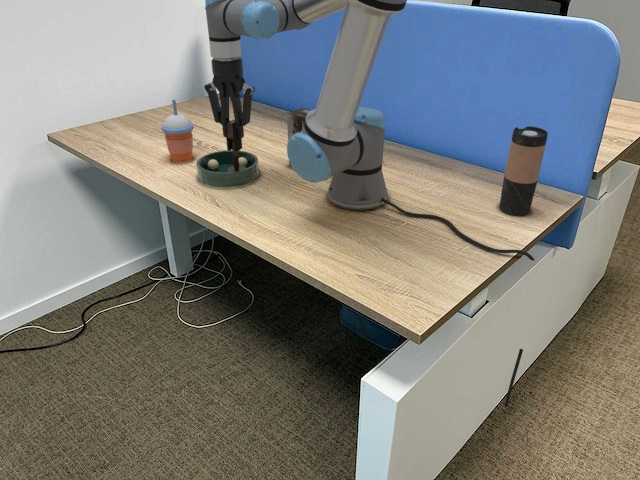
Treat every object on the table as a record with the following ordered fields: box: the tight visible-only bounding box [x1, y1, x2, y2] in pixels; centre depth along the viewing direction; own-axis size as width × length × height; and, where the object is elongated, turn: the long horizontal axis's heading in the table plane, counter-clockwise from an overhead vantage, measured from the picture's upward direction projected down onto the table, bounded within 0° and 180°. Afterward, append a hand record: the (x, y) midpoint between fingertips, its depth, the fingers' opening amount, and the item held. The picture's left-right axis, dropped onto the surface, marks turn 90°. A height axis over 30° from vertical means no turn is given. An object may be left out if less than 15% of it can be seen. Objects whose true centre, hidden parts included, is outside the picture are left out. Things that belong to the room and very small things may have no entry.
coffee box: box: [286, 107, 312, 166], centre depth 148 cm, size 9×6×16 cm
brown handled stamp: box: [227, 119, 246, 172], centre depth 140 cm, size 5×5×16 cm
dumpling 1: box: [208, 159, 218, 170], centre depth 148 cm, size 3×3×3 cm
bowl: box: [196, 149, 260, 188], centre depth 145 cm, size 17×17×4 cm
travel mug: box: [499, 125, 549, 217], centre depth 124 cm, size 8×8×20 cm
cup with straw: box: [161, 99, 194, 163], centre depth 152 cm, size 9×9×18 cm
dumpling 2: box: [239, 157, 247, 167], centre depth 150 cm, size 3×3×3 cm
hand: (234, 149), depth 140 cm, fingers closed on brown handled stamp, 2 cm apart
